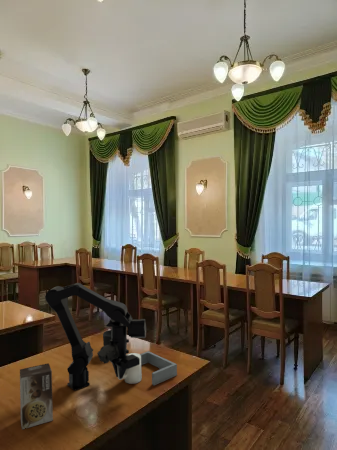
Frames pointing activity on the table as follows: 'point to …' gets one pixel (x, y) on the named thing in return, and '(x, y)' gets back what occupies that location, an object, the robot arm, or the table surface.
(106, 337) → the pen holder
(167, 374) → the frame
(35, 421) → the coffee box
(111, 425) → the table surface
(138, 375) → the jug
